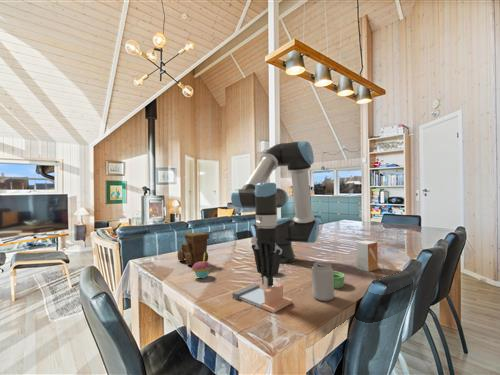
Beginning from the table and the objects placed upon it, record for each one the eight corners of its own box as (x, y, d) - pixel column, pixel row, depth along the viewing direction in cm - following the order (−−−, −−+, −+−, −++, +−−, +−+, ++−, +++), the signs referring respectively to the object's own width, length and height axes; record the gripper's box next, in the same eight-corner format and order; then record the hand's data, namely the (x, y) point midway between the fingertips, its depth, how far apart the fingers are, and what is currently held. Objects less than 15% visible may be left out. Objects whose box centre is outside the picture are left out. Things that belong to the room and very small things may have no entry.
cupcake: (214, 275, 118) (213, 249, 118) (205, 281, 110) (204, 253, 110) (198, 273, 121) (197, 248, 121) (188, 279, 113) (187, 252, 113)
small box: (368, 272, 117) (367, 244, 118) (356, 268, 123) (355, 242, 123) (378, 268, 122) (377, 241, 122) (366, 265, 127) (365, 240, 127)
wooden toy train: (211, 264, 136) (210, 233, 136) (191, 268, 129) (191, 236, 129) (194, 257, 151) (193, 229, 152) (175, 260, 144) (175, 231, 144)
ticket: (232, 298, 92) (232, 292, 92) (255, 288, 100) (254, 283, 100) (259, 309, 83) (259, 303, 83) (281, 297, 91) (281, 292, 91)
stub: (262, 308, 83) (261, 291, 83) (280, 298, 90) (280, 283, 90) (274, 312, 80) (273, 295, 80) (292, 302, 87) (292, 286, 87)
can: (309, 294, 94) (308, 261, 94) (329, 292, 95) (328, 260, 95) (316, 302, 87) (315, 267, 87) (337, 301, 87) (336, 266, 88)
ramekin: (342, 290, 97) (341, 279, 97) (318, 286, 101) (318, 275, 102) (347, 283, 104) (346, 272, 104) (325, 279, 109) (324, 269, 109)
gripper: (245, 226, 90) (247, 292, 90) (274, 229, 81) (275, 303, 81) (259, 224, 95) (261, 286, 95) (288, 227, 86) (289, 296, 86)
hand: (267, 294), depth 88 cm, fingers closed
